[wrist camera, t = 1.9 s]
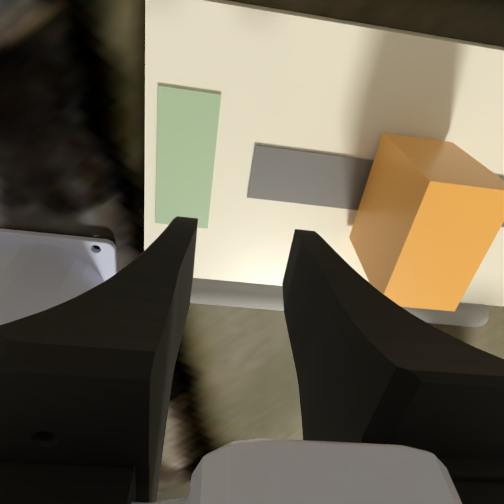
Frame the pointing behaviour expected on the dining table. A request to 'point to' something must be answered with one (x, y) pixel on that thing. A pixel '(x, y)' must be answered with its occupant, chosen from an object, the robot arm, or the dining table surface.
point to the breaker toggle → (426, 221)
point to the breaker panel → (298, 127)
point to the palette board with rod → (273, 300)
